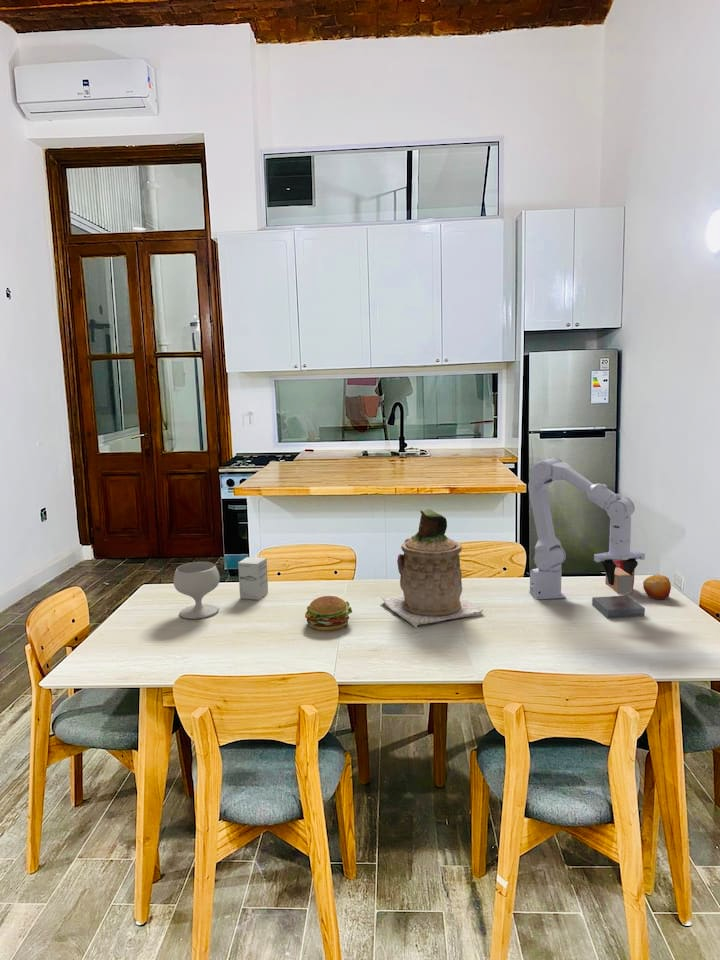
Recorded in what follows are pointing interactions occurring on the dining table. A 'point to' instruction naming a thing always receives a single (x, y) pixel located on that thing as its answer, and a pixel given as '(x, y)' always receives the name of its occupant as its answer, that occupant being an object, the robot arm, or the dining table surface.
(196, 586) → the chalice
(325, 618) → the food
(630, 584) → the block
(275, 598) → the dining table surface
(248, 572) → the supplement box
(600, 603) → the stand
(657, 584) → the fruit
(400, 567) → the cookie jar
